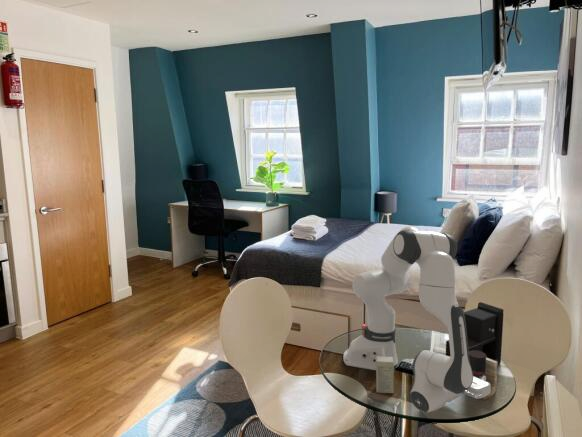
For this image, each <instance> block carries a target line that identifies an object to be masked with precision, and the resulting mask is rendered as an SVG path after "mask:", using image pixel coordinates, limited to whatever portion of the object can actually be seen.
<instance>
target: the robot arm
mask: <svg viewBox="0 0 582 437" xmlns="http://www.w3.org/2000/svg"><path fill="white" fill-rule="evenodd" d="M457 253H458V245H457V241H456V239H455V237H454V236H452V235H451V234H448V233H446V232H445V233H444V232H437V231H434V230H420V229H418V228H417V227H414V226H405V227H403V228H402V229H401V230H399V231H398V232H397V234H396V235H395V236H394V237H393V238H392V240H391V241H390V242H389V243H388V246H387V247H386V249H385V250H384V252H383V254H382V256H381V258H380V260H381V261H380V262H381V265H382V267H381V268H379V269H373V270H368V271H363V272H361V273H359V274H356V276H354V277H353V280H352V290H353V293H354V294H355V296H357V298H359V299H360V300H362V302H363V303H364V305H365V308H366V314H367V316H366V317H367V325H366V324H365V323H363V324H362V325H361V329H362V330H361V331H362V332H361V333H362V334H361V335H359V336H358V337H356V338H355V339H352V341H351V342H350V344H349V347H348V348H347V349H346V350H345V351H344V353H343V356H342V357H343V358H342V359H343V362H344V364H345V365H346V366H348V367H354V368H360V369H366V370H371V371H376V356H384V357H393V367H395V366H396V365H398V363H399V359H398V355H397V349H396V342H397V329H396V311H395V309H394V308H393V307H392V305H390V304H388V303H387V302H386V297H387V296H391V295H397V294H401V293H402V292H404V291H406V290H408V289H409V288H410V285H411V276H410V273H409V272H408V271H409V270H410V268H411V267H412V265H413V264H417V265H418V267H419V269H420V270H419V271H420V273H419V282H418V283H419V284H418V298H419V302H420V304H421V306H422V307H423V308H424V309H425V310H426V311H427V312H428V313H430V314H431V315H432V316H434V317H436V318H437V319H438V320H440V322H442V323H443V324H444V326H445V328H446V329H447V333H448V340H449V344H450V355H451V356H450V357H449V356H446V354H443V353H439V352H436V351H432V350H428V349H423V350H421V351H419V352H418V353H417V355H416V356H415V357H414V359H413V361H412V372H413V377H414V383H413V386H412V389H411V390H410V392H409V393H410V394H409V398H410V402H411V403H412V404H413V407H415V408H416V409H417V410H418V411H419V412H423V413H427V414H429V413H432V412H436V411H437V410H439V409H441V408H443V407H445V406H446V405H447V403H451V402H452V401H455V399H457V398H459V397H461V396H462V395H463V394H464V395H466V396H468V397H471V398H473V399H476V400H477V399H478V400H479V399H483V397H485V396H487V395H489V394H490V392H491V385H490V383H489V382H486V376H484V375H480V376H479V378H480V379H479V378H477V377H474V376H473V371H472V367H471V364H470V359H469V350H468V340H467V330H466V322H465V315H464V312H465V311H464V309H463V308H462V307H461V306H460V305H459V303H458V299H457V297H456V296H457V295H456V271H455V263H454V259H455V257H456V256H457Z"/></svg>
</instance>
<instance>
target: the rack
mask: <svg viewBox="0 0 582 437" xmlns="http://www.w3.org/2000/svg"><path fill="white" fill-rule="evenodd" d="M497 364H498V362H497V361H494V360H492V359H489V358H487V357H486V369H485V376H486V382H489V383H490V385H491V392H490V394H489V395H487V396H485V397H483V398H481V399H482V401H486V400H488V399H489V398H491V397H492V396H493V395H495V394H496V392H497V391H496V390H497V381H498V380H497V379H498V365H497Z"/></svg>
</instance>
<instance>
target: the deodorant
mask: <svg viewBox="0 0 582 437" xmlns="http://www.w3.org/2000/svg"><path fill="white" fill-rule="evenodd" d="M469 359H470V364H471V367H472V371H473V376H474V377H477V378H479V376H480V375H484V376H485V369H486V354H485V353H483V352H481V351H476V350H472V351H469ZM479 379H480V378H479Z"/></svg>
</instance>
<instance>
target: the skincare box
mask: <svg viewBox="0 0 582 437" xmlns="http://www.w3.org/2000/svg"><path fill="white" fill-rule="evenodd" d="M394 369H395V368H394V366H393V357H384V356H376V370H375V377H376V378H375V379H376V380H375V381H376V382H375V384H376V385H375V386H376V393H379V394H394V379H395V378H394V375H395V374H394Z"/></svg>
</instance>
